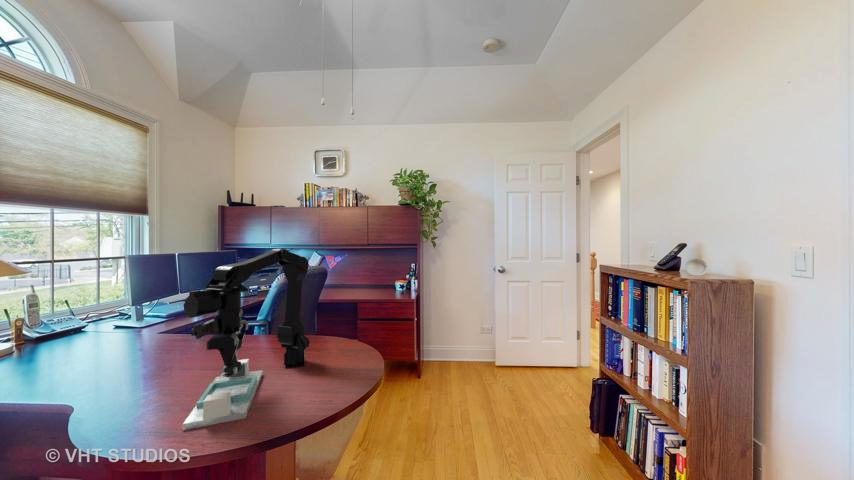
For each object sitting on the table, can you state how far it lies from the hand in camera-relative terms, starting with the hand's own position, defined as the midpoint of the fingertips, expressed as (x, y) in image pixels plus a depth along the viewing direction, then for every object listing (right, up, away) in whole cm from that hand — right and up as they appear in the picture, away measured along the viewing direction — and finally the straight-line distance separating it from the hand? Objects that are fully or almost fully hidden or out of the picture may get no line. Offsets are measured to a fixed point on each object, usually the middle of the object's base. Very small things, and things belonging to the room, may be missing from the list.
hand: (229, 362), depth 85 cm
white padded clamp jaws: (0, -9, 0) cm, 9 cm away
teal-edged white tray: (0, -10, 0) cm, 10 cm away
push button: (0, -4, 0) cm, 4 cm away
